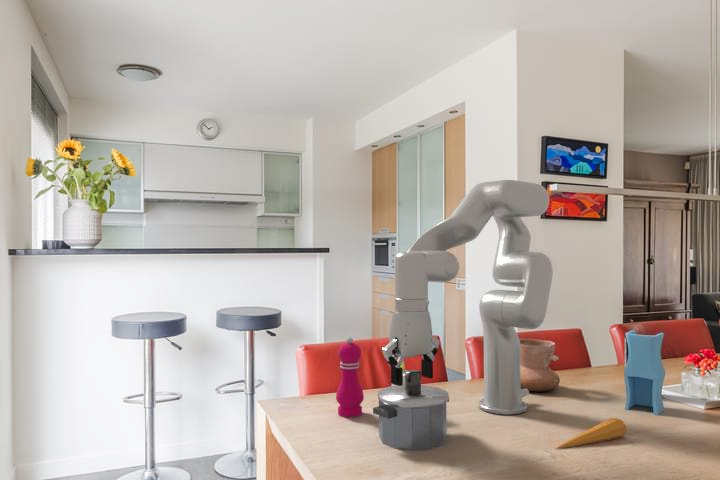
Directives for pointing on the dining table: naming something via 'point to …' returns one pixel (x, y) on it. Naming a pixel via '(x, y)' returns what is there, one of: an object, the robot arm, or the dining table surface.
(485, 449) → the dining table surface
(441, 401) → the lid
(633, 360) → the blue tall piece
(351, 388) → the pepper mill
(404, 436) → the pot
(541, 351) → the ceramic jug
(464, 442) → the dining table surface
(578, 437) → the carrot
